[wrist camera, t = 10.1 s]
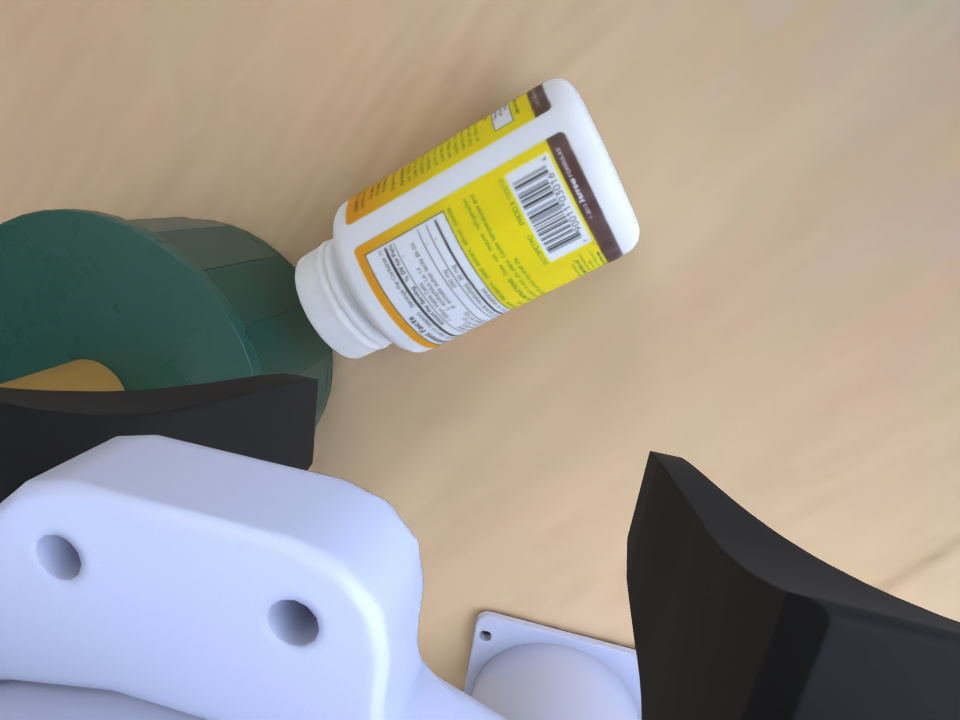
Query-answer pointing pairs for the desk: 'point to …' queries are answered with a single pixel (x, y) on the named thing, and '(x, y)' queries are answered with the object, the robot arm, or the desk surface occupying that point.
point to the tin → (255, 295)
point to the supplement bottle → (470, 229)
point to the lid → (110, 309)
